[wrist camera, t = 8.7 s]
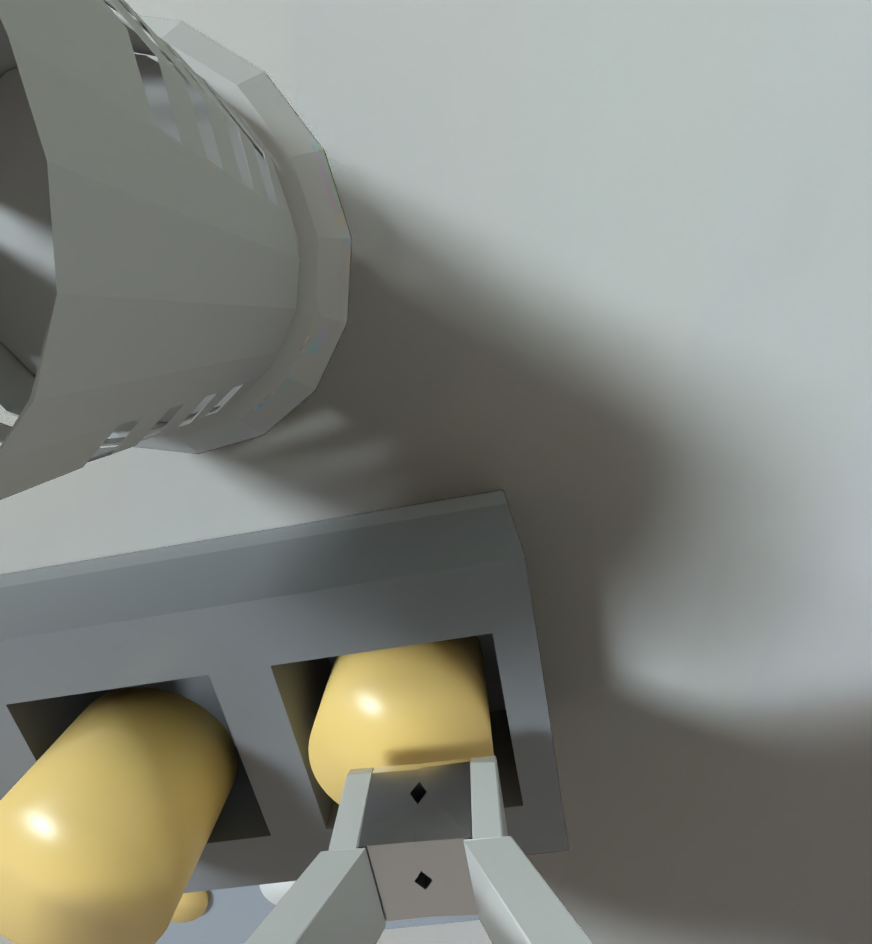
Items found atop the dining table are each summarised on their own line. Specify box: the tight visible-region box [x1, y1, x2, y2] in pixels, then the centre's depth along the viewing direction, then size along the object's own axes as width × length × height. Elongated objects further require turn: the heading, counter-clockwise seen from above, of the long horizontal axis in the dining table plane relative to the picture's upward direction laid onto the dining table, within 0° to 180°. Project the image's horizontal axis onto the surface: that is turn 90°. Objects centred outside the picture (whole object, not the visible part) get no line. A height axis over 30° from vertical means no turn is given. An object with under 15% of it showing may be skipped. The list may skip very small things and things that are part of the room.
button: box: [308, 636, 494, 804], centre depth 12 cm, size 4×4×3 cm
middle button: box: [0, 688, 238, 944], centre depth 11 cm, size 4×4×3 cm
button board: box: [0, 490, 569, 944], centre depth 15 cm, size 16×19×4 cm
